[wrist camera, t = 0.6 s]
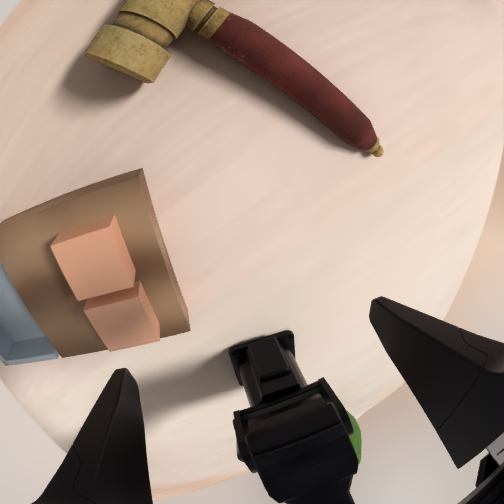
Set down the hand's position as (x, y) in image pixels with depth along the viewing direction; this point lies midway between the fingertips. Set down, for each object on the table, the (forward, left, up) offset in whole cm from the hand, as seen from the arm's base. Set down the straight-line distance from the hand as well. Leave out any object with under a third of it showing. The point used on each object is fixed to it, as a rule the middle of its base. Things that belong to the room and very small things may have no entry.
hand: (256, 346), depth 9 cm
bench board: (-2, +10, -12) cm, 16 cm away
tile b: (0, +8, -10) cm, 12 cm away
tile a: (-4, +8, -10) cm, 13 cm away
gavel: (+9, -6, -13) cm, 17 cm away
